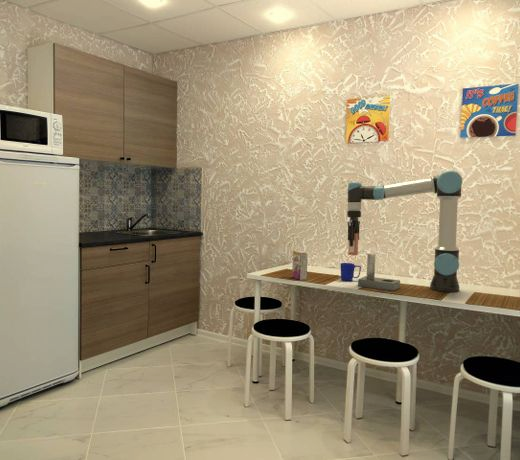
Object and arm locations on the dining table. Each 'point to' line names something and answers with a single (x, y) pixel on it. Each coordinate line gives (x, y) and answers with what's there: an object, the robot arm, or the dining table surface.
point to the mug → (348, 271)
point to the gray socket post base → (375, 282)
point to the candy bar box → (299, 265)
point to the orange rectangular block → (355, 245)
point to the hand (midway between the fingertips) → (353, 251)
